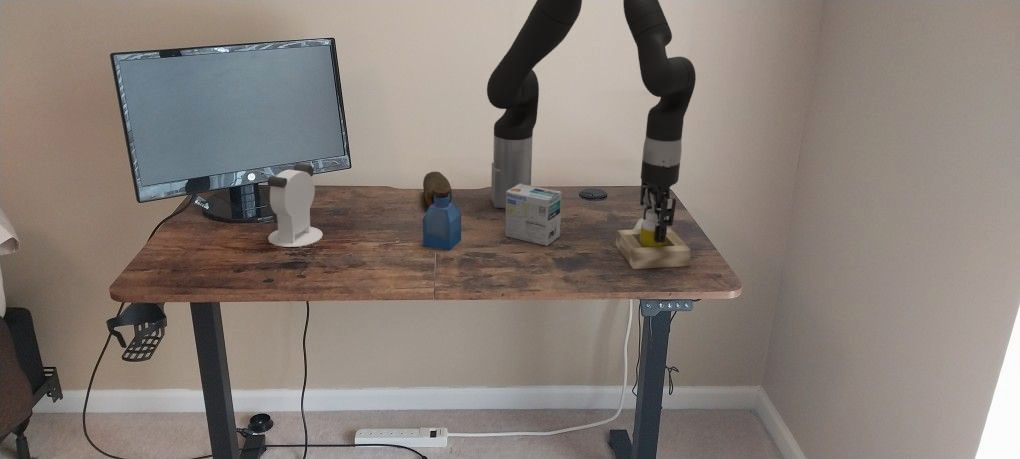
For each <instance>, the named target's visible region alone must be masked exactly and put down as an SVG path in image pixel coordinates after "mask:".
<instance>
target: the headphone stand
mask: <svg viewBox="0 0 1020 459" xmlns="http://www.w3.org/2000/svg"><path fill="white" fill-rule="evenodd" d="M314 172H315V170H314V167H313V166H312V165H308V164H302V163H301V164H300V163H295V164H294V166H293V169H286V170H283V171H281V172H279V173H278V174H277V175H276V176H274V175H270V176H269V177H267V186H269V187H270V189H269V190H270V191H269V204H270V207H271V210H272V212H274V214H273V222H274V223H275V224H277V229H276V230H274V231H273V232H271V233H270V234H269V235H268V243H269V244H271V243H272V244H274V245H277V246H282V247H299V248H303V247H302V246H305V247H308V246H307V245H309V246H311V245H310V244H312V245H314V244H313V243H315V242H317V241H318V242H320V241H321V240H322V239H321V238H323V237H322V236H323V232H322V230H320V229H319V228H316V227H313V226H311V213H310V212H311V210H310V208H311V206H312V205H313V203H314V198H315V194H316V186H315V183H314V179H313V176H314ZM320 239H321V240H320ZM319 240H320V241H319ZM318 242H317V243H318ZM272 244H271V245H272ZM315 244H316V243H315ZM274 245H273V246H274ZM277 246H276V247H277ZM282 247H281V248H282Z"/></svg>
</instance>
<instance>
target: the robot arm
mask: <svg viewBox="0 0 1020 459" xmlns="http://www.w3.org/2000/svg"><path fill="white" fill-rule="evenodd" d="M582 5H583V0H536V1H535V3H534V5H533V7H532V9H531V10H530V12H529V14H528V16H527V18H526V20H525V22H524V23H523V25H522V27H521V29H520V30H519V32H518V33H517V36H516V37H515V39H514V41H513V42H512V45H511V46H510V48H509V49H508V51H507V52H506V54H505V55H504V56H503V58H501V60H500V62H499V63H498V64H497V65H496V67H495V68H494V70H493V71H492V72H491V74H490V76H489V79H488V81H487V86H486V95H487V99H488V101H489V103H490V105H492V106H493V107H494V108H496V109H498V110H499V109H500V110H504V113H503V114H502V115H501V117H499V118H498V119H497V120H496V121H495V122H494V126H493V161H492V163H491V187H490V188H491V189H490V191H491V194H490V195H491V196H490V199H491V202H492V205H493V207H494V208H496V209H497V208H501V209H505V210H506V191H508V190H509V189H511V188H513V187H515V186H516V185H518V184H523V185H529V186H532V164H533V163H532V161H533V135H534V133H533V132H534V128H535V127H536V123H537V119H538V118H537V117H538V106H539V97H540V96H539V95H540V86H539V80H538V76H537V74H536V72H535V71H534V70H533V69H534V68H535V67H536V66H537V65H538V64H539V63H540V62H541V61H542V60H543V59H544V58H545V57H547V56H548V55H549V54H550V53H552V51H554V50H555V49H556V48H557V47H558V46H559V45H560V44H561V43H562V42H563V41H564V40H565V38H566V37H567V35H568V34H569V33H570V31H571V29H572V27H573V26H574V24H575V23H576V22H577V19H578V18H579V16H580V13H581V10H582ZM623 12H624V18H625V21H626V24H627V26H628V29H629V30H630V33H631V36H632V38H633V41H634V43H635V44H636V48H637V56H638V64H639V70H640V76H641V77H640V78H641V80H642V83H643V85H644V87H645V88H646V90H647V91H648V92H649V93H650V94H651V95H653V96H654V97H657V98H660V99H659V102H658V103H656V105H654V106H652V107H651V108H650V109H649V111H648V114H647V118H646V130H645V139H644V143H643V146H642V147H643V149H642V156H641V157H642V158H641V160H642V161H641V167H640V168H641V169H640V180H641V186H640V200H639V201H640V202H639V204H640V206H641V207H642V212H643V217H642V218H643V220H645V219H646V211H647V210H648V209H652V213H653V214H654V215H655V221H656V225H655V234H654V241H655V242H656V243H662V242H665V239H666V230H667V228H668V227H672V226H673V225H674V224H673V223H674V218H675V217H674V216H675V212H676V211H675V210H676V203H677V200H676V198H675V197H674V198H671V189H670V188H671V187H672V186H673V185H677V183H678V182H679V177H680V167H681V160H682V159H681V158H682V151H683V150H682V146H683V144H682V138H683V128H684V118H685V115H686V112H687V111H688V108H689V104H690V102H691V99H692V97H693V93H694V91H695V90H694V89H695V86H696V79H697V78H696V70H695V69H696V68H695V66H694V65H693V62H692V61H691V60H690V59H689V58H688V57H684V56H673V57H668V56H667V51H666V46H668V45H669V44H670V43H671V41H672V40H673V34H672V30H671V28H670V25H669V23H668V20H667V18H666V15H665V13H664V11H663V8H662V6H661V4H660V1H659V0H623ZM657 209H660V210H657ZM659 214H660V218H659ZM664 218H665V220H664Z"/></svg>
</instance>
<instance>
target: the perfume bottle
mask: <svg viewBox="0 0 1020 459" xmlns="http://www.w3.org/2000/svg"><path fill="white" fill-rule="evenodd" d="M434 191H435V195H434V201H435V203H434V204H433V205H431V206H428V209H427V211H426V212H425V214H424V216H423V218H422V244H423V245H422V247H427V248H432V249H433V248H434V249H439V250H440V249H441V250H446V251H451V250H452V249H453V248H454V247H455V246H456V245H457V244H458V243H459V242H461V241H462V213H461V211H460V209H459V208H458V206H457V205H456V204H455V202H450V203H449V201H450V195H449V189H447V188H437V189H435V190H434Z"/></svg>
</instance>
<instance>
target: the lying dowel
mask: <svg viewBox="0 0 1020 459" xmlns="http://www.w3.org/2000/svg"><path fill="white" fill-rule="evenodd" d="M642 221H643V217H641V218H639V219H638V220H637V221H636V224H635V225H634V227H633V228H632V230H635V229H641V224H642Z"/></svg>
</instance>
